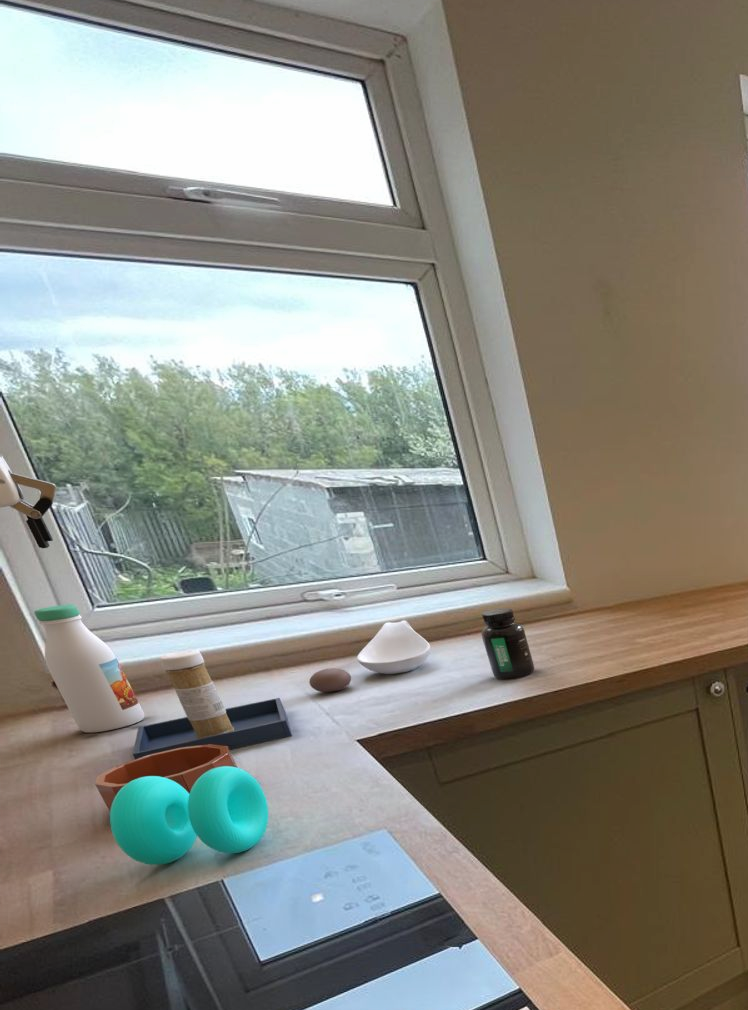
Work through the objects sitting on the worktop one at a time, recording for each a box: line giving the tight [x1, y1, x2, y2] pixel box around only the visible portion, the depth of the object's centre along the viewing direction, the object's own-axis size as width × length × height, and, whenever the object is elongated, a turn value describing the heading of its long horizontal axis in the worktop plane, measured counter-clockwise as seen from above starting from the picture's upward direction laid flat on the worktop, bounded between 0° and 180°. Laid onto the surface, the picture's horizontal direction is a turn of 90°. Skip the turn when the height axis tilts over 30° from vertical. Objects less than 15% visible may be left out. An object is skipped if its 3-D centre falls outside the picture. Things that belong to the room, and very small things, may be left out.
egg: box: [308, 667, 352, 693], centre depth 146 cm, size 6×6×4 cm
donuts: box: [109, 766, 269, 866], centre depth 92 cm, size 10×10×10 cm
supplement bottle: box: [481, 608, 535, 680], centre depth 150 cm, size 7×7×12 cm
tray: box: [132, 697, 293, 760], centre depth 127 cm, size 17×15×3 cm
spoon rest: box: [356, 619, 431, 675], centre depth 161 cm, size 24×12×7 cm, turn 31°
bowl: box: [95, 744, 239, 812], centre depth 106 cm, size 13×13×5 cm
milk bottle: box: [34, 604, 145, 733], centre depth 131 cm, size 8×8×20 cm
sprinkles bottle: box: [158, 649, 234, 739], centre depth 124 cm, size 5×5×13 cm
